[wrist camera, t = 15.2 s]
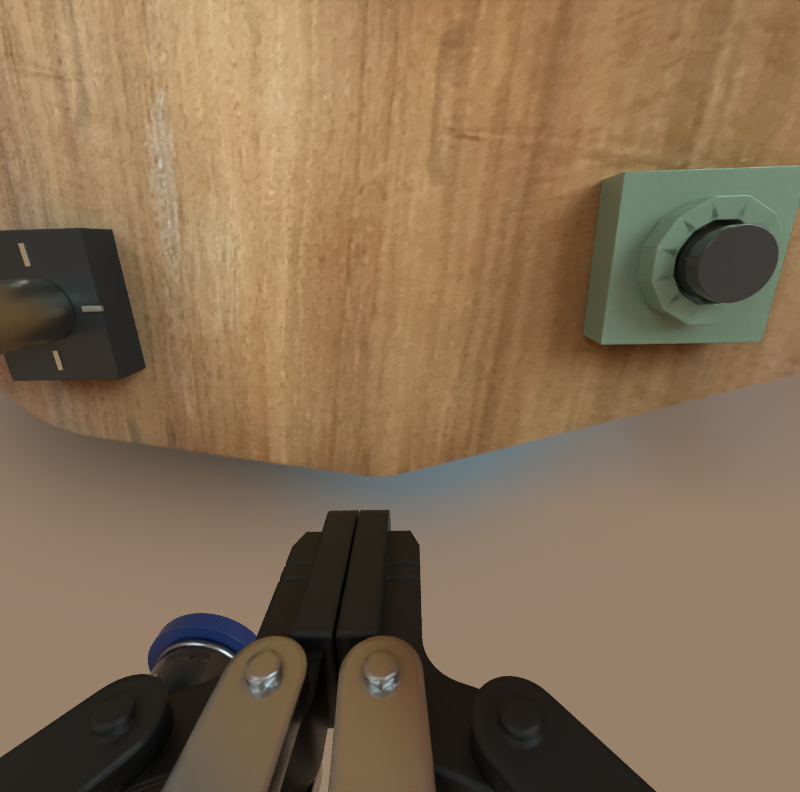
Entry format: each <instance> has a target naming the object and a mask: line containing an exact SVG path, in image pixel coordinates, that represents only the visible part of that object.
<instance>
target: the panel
mask: <svg viewBox="0 0 800 792" xmlns="http://www.w3.org/2000/svg"><path fill="white" fill-rule="evenodd" d="M20 278H40V279H44V280H46V281H49V282H51V283H52V284H54V285H55V286H57V287H58V288H59V289H60V290H61V291H62V292H63V293H64V294H65V295H66V297H67V298H68V300H69V302H70V304H71V306H72V309H73V314H74V323H73V327H72V329H71V331H70V332H69V334H68V335H67V336H65V337H64V338H62V339H59V340H56V341H52V342H48V343H44V344H41V345H37V346H33V347H29V348H26V349H22V350H18V351H14V352H10V353H7V354H4V356H5V359H6V362H7V365H8V368H9V370H10V373H11V376H12V379H13V381H33V380H112V379H122V378H124V377H126V376H128V375H131V374H133V373H135V372H137V371H139V370H142V369H144V368H145V363H144V359H143V355H142V351H141V347H140V343H139V339H138V335H137V331H136V326H135V322H134V318H133V314H132V310H131V306H130V302H129V298H128V294H127V290H126V286H125V282H124V277H123V273H122V269H121V265H120V261H119V257H118V253H117V249H116V245H115V241H114V237H113V232H112V230H110V229H89V228H64V229H33V230H3V231H0V280H8V279H20Z"/></svg>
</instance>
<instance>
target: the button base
mask: <svg viewBox="0 0 800 792" xmlns="http://www.w3.org/2000/svg"><path fill="white" fill-rule="evenodd" d="M799 202H800V165H793V166H766V167H739V168H712V169H685V170H659V171H632V172H623V173H620V174H618V175H615V176H612V177H609V178H606V179H603V180H602V184H601V192H600V200H599V208H598V217H597V225H596V233H595V241H594V249H593V257H592V265H591V273H590V281H589V289H588V297H587V305H586V314H585V322H584V330H583V335H584V336H586V337H588V338H590V339H591V340H593V341H595V342H597V343H599V344H600V345H619V344H681V343H743V342H761V341H762V338H763V334H764V330H765V327H766V323H767V319H768V316H769V312H770V308H771V305H772V301H773V297H774V294H775V290H776V287H777V283H778V279H779V276H780V272H781V268H782V265H783V261H784V257H785V254H786V250H787V246H788V243H789V239H790V235H791V232H792V228H793V224H794V221H795V217H796V213H797V210H798V206H799ZM744 223H752V224H757V225H760V226H763V227H764V228H766V229H767V230H769V231H770V232H771V233H772V234H773V236H774V237H775V239H776V241H777V244H778V250H779V256H778V262H777V266H776V269H775V271H774V273H773V275H772V277H771V278H770V280H769V281H768V282H767V284H766V285H765V286H764V287H763V288H762V289H761V290H759V291H758V292H757V293H755V294H754V295H752V296H751V297H749V298H747V299H744V300H742V301H739V302H734V303H721V302H715V301H710V300H705V299H700V298H695V297H692V296H691V295H689V294H687V293H686V292H685V291H684V290H683V289H682V288H681V286H680V284H679V282H678V280H677V275H676V266H677V261H678V258H679V255H680V253H681V251H682V249H683V248H684V246H685V245H686V244H687V242H688V241H689V240H690V239H691V238H692V237H694V236H695V235H696V234H697V233H699V232H701V231H702V230H704V229H706V228H709V227H712V226H716V225H728V224H744Z"/></svg>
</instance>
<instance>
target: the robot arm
mask: <svg viewBox="0 0 800 792" xmlns="http://www.w3.org/2000/svg"><path fill="white" fill-rule="evenodd" d="M328 728H334V735H333V745H332V755H331V766H330V777H329V788H328V792H656V791H655V790H654V789H653V788H652V787H650V786H649V785H648V784H647V783H646V782H645V781H644V780H643V779H642V778H641V777H640V776H638V775H637V774H636V773H635V772H634V771H633V770H632V769H631V768H630V767H629V766H628V765H626V764H625V763H624V762H623V761H622V760H621V759H620V758H619V757H618V756H617V755H616V754H614V753H613V752H612V751H611V750H610V749H609V748H608V747H607V746H606V745H605V744H603V743H602V742H601V741H600V740H599V739H598V738H597V737H596V736H594V734H593V733H591V732H590V731H589V730H588V729H587V728H586V727H585V726H584V725H582V724H581V722H579V721H578V720H577V719H576V718H575V717H574V716H573V715H572V714H571V713H570V712H568V711H567V710H566V709H565V708H564V707H563V706H562V705H561V704H560V703H559V702H558V701H556V700H555V699H554V698H553V697H552V696H551V695H550V694H549V693H548V692H546V691H545V690H544V689H543V688H541V687H540V686H538V685H537V684H535V683H533V682H531V681H529V680H526V679H523V678H520V677H514V676H502V677H498V678H495V679H492V680H490V681H489V682H487V683H486V684H484V685H483V686H482V687H481V688H480V689H478V688H475V687H472V686H469V685H466V684H463V683H460V682H457V681H455V680H453V679H450V678H449V677H447V676H445V675H444V674H442V673H441V672H440V671H439V670H438V669H436V668H435V666H434V665H433V664H432V663H431V661H430V660H429V658H428V657H427V655H426V653H425V650H424V647H423V642H422V619H421V586H420V549H419V544H418V542H417V541H416V539H415V537H414V536H413V534H412V533H411V531H391V525H390V511H389V510H361V511H360V512H359V511H358V510H357V511H356V510H353V511H352V510H350V511H329V512H328V514H327V517H326V520H325V524H324V527H323V530H322V532H306V533H305V534H304V535H303V536H302V537H301V538H300V539H299V540H298V542H297V543H296V544H295V545H294V546H293V547H292V549H291V552H290V555H289V557H288V560H287V562H286V567H284V570H283V572H282V574H281V577H280V582H278V585H277V587H276V590H275V592H274V595H273V597H272V600H271V602H270V605H269V607H268V610H267V612H266V615H265V617H264V620H263V622H262V625H261V628H260V630H259V633H258V635H257V638H256V640H255V641H254V642H252V643H250V644H249V645H247V646H245V647H244V648H243V649H241V650H240V651H239V652H238V653H237V652H236V651H235V650H233V649H232V648H230V647H229V646H227V645H225V644H223V643H221V642H218V641H215V640H212V639H207V638H199V637H191V638H184V639H180V640H177V641H175V642H173V643H171V644H170V645H168V646H167V647H166V648H165V649H164V651H163V652H162V654H161V655H160V657H159V658H158V660H157V662H156V665H155V667H154V669H153V670H152V672H151V673H150V675H148V674H138V675H132V676H128V677H124V678H122V679H119V680H117V681H115V682H113V683H111V684H109V685H107V686H106V687H104V688H102V689H101V690H99V691H98V692H96V693H95V694H93V695H92V696H90V697H89V698H87V699H86V700H84V701H83V702H81V703H80V704H78V705H77V706H76V707H74V708H73V709H71V710H70V711H68V712H67V713H65V714H64V715H62V716H61V717H59V718H58V719H56V720H55V721H53V722H52V723H51V724H49V725H48V726H46V727H45V728H43V729H42V730H40V731H39V732H37V733H36V734H34V735H33V736H31V737H30V738H29V739H27V740H26V741H24V742H23V743H21V744H20V745H18V746H17V747H15V748H14V749H12V750H11V751H9V752H8V753H6V754H5V755H4V756H2V757H1V758H0V792H319V788H320V784H321V778H322V758H323V752H324V746H325V741H326V735H327V729H328Z"/></svg>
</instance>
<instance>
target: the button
mask: <svg viewBox="0 0 800 792" xmlns="http://www.w3.org/2000/svg"><path fill="white" fill-rule="evenodd" d="M778 256H779V250H778V244H777V241H776V239H775V237H774V236H773V234H772V233H771V232H770V231H769V230H767V229H766V228H764V227H763V226H760V225H757V224H752V223H744V224H728V225H716V226H712V227H709V228H706V229H704V230H702V231H701V232H699V233H697V234H696V235H695V236H694V237H692V238H691V239H690V240H689V241H688V242H687V244H686V245H685V246H684V248H683V249H682V251H681V253H680V255H679V258H678V261H677V266H676V275H677V280H678V282H679V284H680V286H681V288H682V289H683V290H684V291H685V292H686V293H687V294H689V295H691V296H692V297H695V298H700V299H705V300H710V301H715V302H721V303H734V302H739V301H742V300H744V299H747V298H749V297H751V296H752V295H754V294H755V293H757V292H758V291H759V290H761V289H762V288H763V287H764V286H765V285H766V284H767V282H768V281H769V280H770V278H771V277H772V275H773V273H774V271H775V269H776V266H777V262H778Z"/></svg>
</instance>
